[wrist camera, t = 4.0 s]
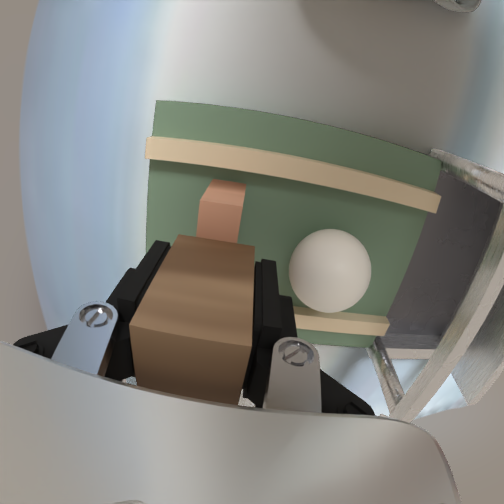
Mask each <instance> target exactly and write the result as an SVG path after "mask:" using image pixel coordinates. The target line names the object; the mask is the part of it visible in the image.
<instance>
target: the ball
mask: <svg viewBox="0 0 504 504" xmlns="http://www.w3.org/2000/svg"><path fill="white" fill-rule="evenodd" d="M289 279H290V283H291V286H292V289H293V291H294V292H295V294H296V296H297V297H298V298H299V299H300V300H301V301H302V302H303V303H304V304H305V305H307V306H308V307H310V308H312V309H314V310H316V311H320V312H325V313H334V312H339V311H343V310H346V309H348V308H350V307H351V306H353V305H354V304H356V303H357V302H358V301H359V300H360V299H361V298H362V296H363V295H364V293H365V292H366V290H367V288H368V286H369V283H370V279H371V262H370V258H369V255H368V253H367V251H366V249H365V247H364V246H363V245H362V244H361V242H360V241H359V240H358V239H357V238H355V237H354V236H353V235H351V234H349V233H347V232H345V231H342V230H337V229H323V230H319V231H316V232H313V233H311V234H310V235H308V236H307V237H305V238H304V239H303V240H302V241H301V242H300V243H299V244H298V245H297V247H296V248H295V250H294V251H293V254H292V256H291V259H290V263H289Z"/></svg>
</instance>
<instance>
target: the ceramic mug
mask: <svg viewBox="0 0 504 504" xmlns="http://www.w3.org/2000/svg"><path fill="white" fill-rule="evenodd" d="M433 1H435V2H436V3H438V4H439V5H440V6H442V7H443V8H445V9H448V10H452V11H457V12H472V11H474V10H476V9H477V7H478V6H479V5H480V3H481V0H456V1H455V0H433Z"/></svg>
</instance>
